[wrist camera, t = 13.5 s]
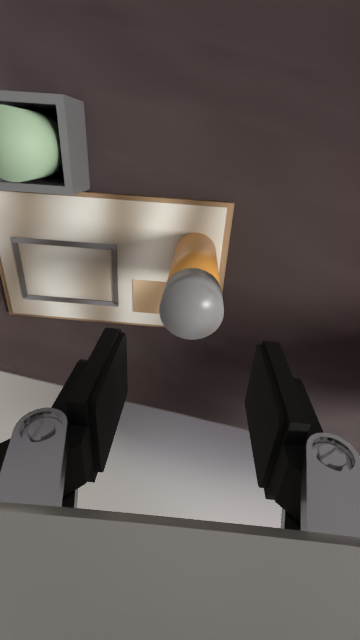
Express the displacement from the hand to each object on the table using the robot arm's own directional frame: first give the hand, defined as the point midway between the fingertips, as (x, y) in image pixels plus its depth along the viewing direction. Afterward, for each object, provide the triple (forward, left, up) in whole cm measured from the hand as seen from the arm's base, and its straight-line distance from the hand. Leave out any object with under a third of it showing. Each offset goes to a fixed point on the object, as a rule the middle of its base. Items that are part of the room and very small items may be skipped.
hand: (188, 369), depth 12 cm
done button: (+11, -7, -14) cm, 19 cm away
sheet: (+7, +2, -15) cm, 17 cm away
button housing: (+11, -7, -15) cm, 20 cm away
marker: (0, 0, -15) cm, 15 cm away
